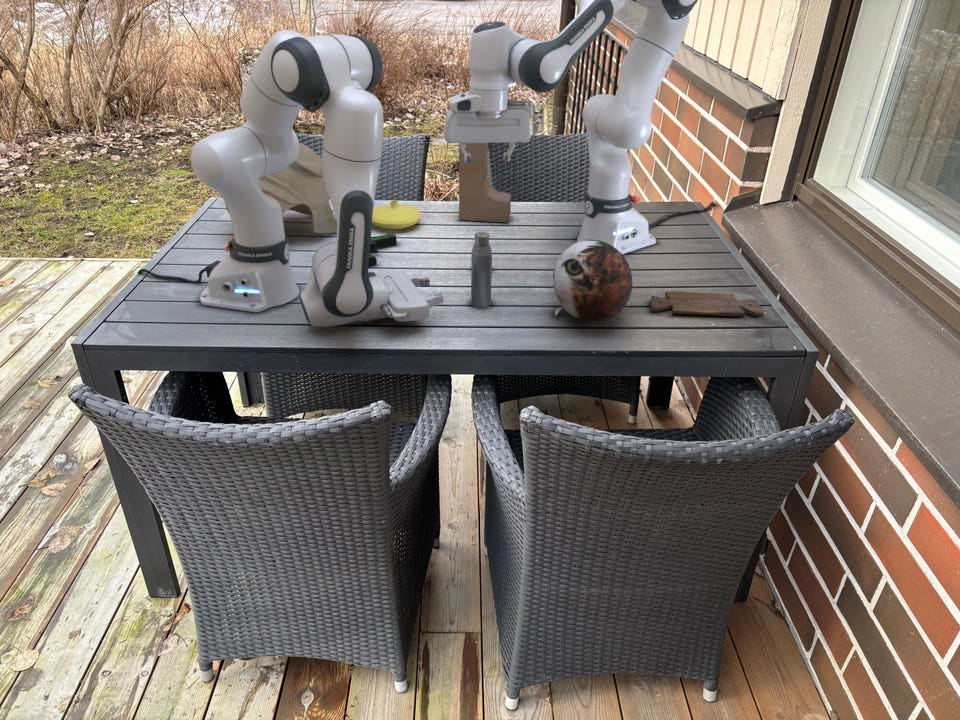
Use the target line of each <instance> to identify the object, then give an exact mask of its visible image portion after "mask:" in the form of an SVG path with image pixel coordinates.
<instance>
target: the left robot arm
mask: <svg viewBox="0 0 960 720" xmlns="http://www.w3.org/2000/svg"><path fill="white" fill-rule="evenodd" d="M383 64H384V63H383V59H382V54H381V53H380V50H379V48H378V47H377V45H376V44H375V43H374V42H373V41H372V40H371V39H368V38H367V37H365V36H361V35H358V34H339V33H323V34H319V35H318V34H317V35H309V36H305V35H304V34H302V33H300V32H298V31H296V30H292V29H282V30H279V31H277V32H275V33H274V34H273V35H272V36H271V37H270V38H269V40H268V41H267V42H266V44H265V45H264V47H263V48H262V49H261V51H260V53H259V55H258V56H257V59H256V61H255V63H254V64H253V67H252V69H251V72H250V74H249V76H248V79H247V81H246V83H245V86H244V88H243V90H242V93H241V95H240V99H239V106H240V110H241V112H242V115H243V117H244V119H245V120H246V121H245V122H244V123H242V124H243V125H242V126H237V127H234V128H229V129H226V130H221V131H217V132H214V133H211V134H210V135H207V136H205V137H204V138H202V139H200V140H199V141H197V142H195V143H194V144H193V146H192V148H191V151H190V164H191V168H192V170H193V173H194V174H195V176H196V178H198V179H199V181H200V182H201V183H203V184H204V185H205V186H207V187H208V188H211V189H212V190H214V191H215V192H217V193H218V195H219V196H220V197H221V198H222V200H223V202H224V204H225V203H226V205H227V208H228V210H229V213H228V214H229V218H230V221H231V226H232V231H233V235H232V236H231V237H230V240H229V241H228V242H227V245H226V246H225V247H224V248H225V252H226V253H229V254H228V255H227V256H225V257H224V258H223V259H222V260H215V261H214V262H211V263H210V264H208V265H207V266H205V267H204V268H202V269H201V270H200V271H199V272H198V279H197V280H191V279H188V278H185V277H182V276H181V277H180V276H172V275H171V276H170V275H162V274H157V273H154V272H152V271H150V270H148V269H146V268H140V269H139V270H138V271H137V274H138V275H139V274H141V273H143V272H144V273H147V274H148V275H150V276H152V277H154V278H158V279H165V280H175V281H182V282H184V283H190V284H199V283H201V281H202V279H203V273H206V277H207V278H208V282H207V284H208V285H207V286H206V287H205V288H204V289H203V290H202V291H201V294H200V296H199V298H200V299H199V302H200V304H201V305H202V306H207V307H215V308H221V309H228V310H229V309H230V310H236V311H243V312H252V313H260V312H264V311H265V310H268V309H270V308H274V307H279V306H282V305H285V304H288V303H290V302H292V301H294V300H295V299H296V298H297V297H299V302H300V306H301V308H302V312H303V314H304V317H305V320H306V322H307V323H308V324H309V325H310V326H312V327H317V328H327V327H328V328H329V327H335V326H343V325H348V324H350V323H352V322H358V321H361V322H367V321H373V320H374V321H375V320H379V319H385V318H388V319H389V318H390V319H393V320H395V321H397V322H414V321H415V322H416V321H422V320H426V319H427V318H429V317H430V309H431V308H433V307H435V306H436V305H441V304H443V303H444V295H442V294H441V293H434V294H433V296H431V297H429V296H426V297H425V296H423V294H422V293H421V292H420V291H419V289H418V288H417V287H422V288H426V287H427V288H428V287H430V286H431V280H430V279H429V278H428V277H427V276H423V277H419V276H408V274H407V273H406V272H405V270H403V269H398V268H396V269H394V268H393V269H384V270H379V271H376V272H375V271H374V270H369V266H368V265H369V253H370V242H371V238H372V231H373V230H372V229H373V224H372V215H373V209H375V200H376V192H377V186H378V179H379V173H380V168H381V162H382V153H383V145H384V130H385V129H384V127H385V126H384V124H385V123H384V122H385V121H384V120H385V119H384V109H383V104H382V102H381V100H379V98H378V97H377V96H376V95H374V94H373V93H372V92H370V91H372V90H374V89H375V88H376V87H377V86H378V85H379V83H380V81H381V79H382V77H383V76H382V75H383V71H384V70H383V68H384V66H383ZM302 108H303V109H304V110H305V111H307V112H308V113H313V112H317V111H318V110H320V111H321V113H322V115H323V118H324V132H323V139H322V148H321V159H322V173H323V181H324V184H325V187H326V190H327V192H328V195H329V197H330V199H329V201H330V203H331V206H332V210H333V213H334V216H335V218H336V221H337V232H336V233H337V234H336V235H337V236H336V242H330V243H326V244H324V245H322V246H320V247H319V248H318V249H317V250H316V252H314V254H313V257H312V264H311V269H310V274H309V277H308V280H307V282H306V285H305V287H304V288H303V289H302V290H301V291H300V288H299V286H298V284H297V282H296V279H295V276H294V273H293V270H292V266H291V263H290V262H291V261H290V259H291V256H290V255H291V251H290V245H289V242H288V235H286V233H285V226H284V218H283V215H282V210H281V206H280V204H279V202H278V201H277V200H276V199H274V198H273V197H271V196H269V195H267V194H264V193H263V192H262V190H261V187H260V184H259V178H260V177H263V176H266V175H269V174H273V173H276V172H279V171H281V170H283V169H284V168H286V167H287V166H289V165H290V164H292V163H293V162H295V161H296V159H297V158H298V155H299V143H300V142H299V139H298V138H299V137H298V136H297V134H296V132H295V131H294V129H293V127H294V124H295V122H296V120H297V117H298V116H299V114H300V111H301V109H302ZM226 205H225V206H226Z"/></svg>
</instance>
